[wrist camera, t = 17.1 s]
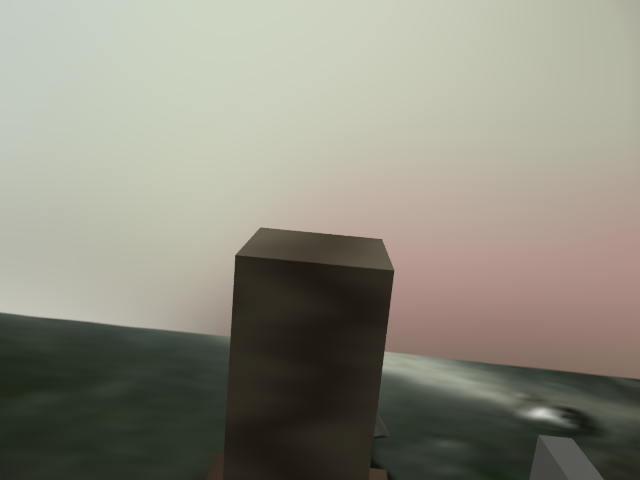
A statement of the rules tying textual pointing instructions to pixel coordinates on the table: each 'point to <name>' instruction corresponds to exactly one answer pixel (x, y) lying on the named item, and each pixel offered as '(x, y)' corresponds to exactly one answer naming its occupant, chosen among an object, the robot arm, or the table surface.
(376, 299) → the birch block
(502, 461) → the table surface
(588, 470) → the robot arm
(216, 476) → the walnut pad
